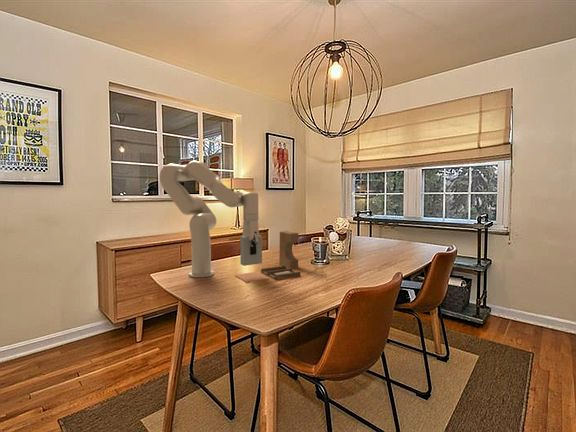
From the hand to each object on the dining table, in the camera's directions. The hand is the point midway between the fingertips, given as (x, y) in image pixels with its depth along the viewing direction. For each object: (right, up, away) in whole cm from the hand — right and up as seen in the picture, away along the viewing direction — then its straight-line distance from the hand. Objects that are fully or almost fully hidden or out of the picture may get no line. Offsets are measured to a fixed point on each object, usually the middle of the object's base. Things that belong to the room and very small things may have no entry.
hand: (251, 253), depth 159 cm
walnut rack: (+15, -12, +5) cm, 20 cm away
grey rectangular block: (0, -5, 0) cm, 5 cm away
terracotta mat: (0, -12, 0) cm, 12 cm away
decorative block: (+19, -11, +23) cm, 32 cm away
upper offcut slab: (+16, -12, +3) cm, 20 cm away
